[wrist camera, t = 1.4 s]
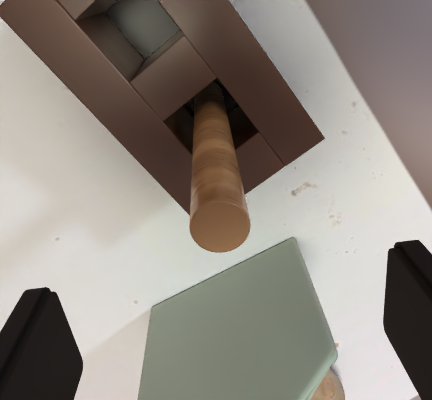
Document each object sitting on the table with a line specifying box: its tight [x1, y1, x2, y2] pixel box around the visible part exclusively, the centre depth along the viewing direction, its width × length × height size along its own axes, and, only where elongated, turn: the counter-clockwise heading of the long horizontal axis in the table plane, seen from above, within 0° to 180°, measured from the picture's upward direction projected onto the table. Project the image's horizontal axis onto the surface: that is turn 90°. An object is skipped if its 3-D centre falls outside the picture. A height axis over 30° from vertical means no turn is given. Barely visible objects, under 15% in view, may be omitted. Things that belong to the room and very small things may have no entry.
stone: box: [311, 369, 345, 400], centre depth 46 cm, size 7×6×8 cm
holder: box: [0, 0, 325, 215], centre depth 28 cm, size 10×17×8 cm, turn 38°
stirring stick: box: [190, 82, 250, 253], centre depth 24 cm, size 2×2×20 cm
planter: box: [138, 238, 338, 400], centre depth 33 cm, size 16×8×20 cm, turn 121°
